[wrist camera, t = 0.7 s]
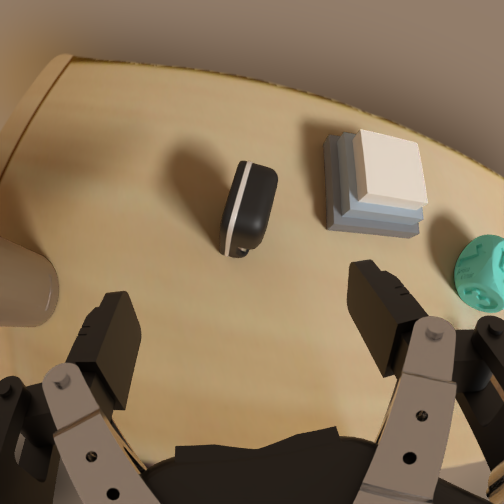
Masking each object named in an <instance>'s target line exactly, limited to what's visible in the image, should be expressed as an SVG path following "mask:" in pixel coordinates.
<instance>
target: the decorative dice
mask: <svg viewBox="0 0 504 504" xmlns="http://www.w3.org/2000/svg"><path fill="white" fill-rule="evenodd" d="M454 280H455V286H456V289H457V292H458V294H459V296H460V298H461V299H462V300H463V301H464V302H465V303H466V304H468V305H469V306H471V307H473V308H475V309H477V310H479V311H483V312H488V313H495V312H499V311H501V310H503V309H504V238H502V237H499V236H496V235H482V236H479V237H477V238H475V239H474V240H473V241H471V242H470V243H469V244H468V245H467V246H466V247H465V249H464V250H463V251H462V253H461V254H460V256H459V258H458V260H457V262H456V265H455V270H454Z"/></svg>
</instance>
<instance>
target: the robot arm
mask: <svg viewBox="0 0 504 504" xmlns="http://www.w3.org/2000/svg"><path fill="white" fill-rule="evenodd" d="M58 296H59V284H58V277H57V274H56V271H55V269H54V267H53V266H52V264H51V263H50V262H49V261H48V259H46V258H45V257H44V256H42V255H40V254H37V253H35V252H33V251H31V250H28V249H26V248H24V247H22V246H20V245H18V244H15V243H13V242H11V241H9V240H7V239H4V238H2V237H0V326H5V327H36V326H39V325H41V324H43V323H44V322H46V321H47V320H48V319H49V318H50V317H51V315H52V313H53V312H54V310H55V307H56V305H57V301H58ZM347 306H348V310H349V313H350V315H351V317H352V319H353V321H354V323H355V325H356V327H357V328H358V330H359V332H360V334H361V336H362V338H363V340H364V342H365V343H366V345H367V347H368V349H369V351H370V353H371V355H372V357H373V359H374V361H375V363H376V365H377V367H378V369H379V371H380V373H381V374H382V376H383V378H384V377H388V376H392V375H395V376H396V378H397V382H396V384H395V388H394V391H393V394H392V397H391V400H390V403H389V406H388V409H387V411H386V414H385V417H384V420H383V422H382V425H381V428H380V430H379V433H378V435H377V437H376V440H375V442H372V441H368V440H365V439H361V438H356V437H347V436H339V434H338V431H337V428H336V426H335V427H330V428H326V429H321V430H317V431H312V432H306V433H301V434H297V435H294V436H292V437H289V438H287V439H284V440H282V441H279V442H276V443H274V444H271V445H268V446H266V447H263V448H260V449H246V448H237V447H229V446H221V445H196V446H175V457H172V458H169V459H166V460H163V461H161V462H159V463H157V464H154V465H153V466H151V467H150V468H148V469H147V468H146V467H145V465H144V464H143V463H142V462H141V460H140V459H139V458H138V456H137V455H136V454H135V452H134V451H133V449H132V448H131V446H130V445H129V443H128V442H127V440H126V439H125V437H124V436H123V434H122V433H121V431H120V429H119V428H118V426H117V425H116V423H115V421H114V420H113V419H112V413H113V410H125V409H126V404H127V399H128V394H129V389H130V385H131V380H132V376H133V372H134V367H135V363H136V359H137V355H138V351H139V346H140V342H141V328H140V324H139V321H138V319H137V316H136V313H135V311H134V308H133V305H132V302H131V300H130V297H129V294H128V293H127V292H126V291H120V292H110V293H106V294H105V296H104V298H103V300H102V302H101V304H100V306H99V307H95V308H94V309H93V310H92V311H91V312H90V313H89V314H88V315H87V317H86V319H85V321H84V323H83V325H82V328H81V329H80V331H79V333H78V336H77V338H76V340H75V342H74V344H73V346H72V348H71V351H70V353H69V355H68V358H67V360H66V362H65V363H62V364H59V365H56V366H55V367H53V368H52V369H50V370H49V371H48V372H47V374H46V375H45V377H44V379H43V382H42V383H39V384H35V385H31V386H25V385H24V384H23V382H22V381H21V380H20V378H18V377H16V376H9V377H6V378H4V379H2V380H1V381H0V504H53V496H54V490H55V483H56V477H57V471H58V466H59V461H60V456H61V458H62V460H63V463H64V465H65V467H66V469H67V471H68V473H69V476H70V478H71V480H72V482H73V484H74V486H75V488H76V490H77V492H78V494H79V496H80V498H81V500H82V502H83V504H504V401H503V400H502V398H501V396H500V395H499V393H498V391H497V390H496V388H495V387H494V385H493V383H492V382H491V380H490V379H491V377H492V375H494V377H495V378H496V380H497V381H498V383H499V384H500V386H501V388H502V389H503V391H504V320H502V319H501V318H498V317H495V316H484V317H481V318H480V319H479V320H478V322H477V324H476V327H475V329H474V330H455V329H454V327H453V326H452V325H451V324H450V323H449V322H448V321H446V320H444V319H442V318H439V317H434V316H428V314H427V313H426V312H425V311H424V309H423V308H422V307H421V306H420V304H419V303H418V302H417V301H416V299H415V298H414V297H413V296H412V295H411V294H410V293H409V291H408V290H407V289H406V287H404V285H403V284H402V283H401V282H400V280H399V279H398V278H397V277H396V276H394V275H392V274H391V273H389V272H387V271H381V270H380V269H379V268H378V267H377V265H376V264H375V263H374V262H373V261H372V260H363V261H357V262H351V264H350V266H349V278H348V290H347ZM455 398H456V400H457V402H458V404H459V406H460V407H461V409H462V411H463V413H464V415H465V417H466V419H467V421H468V423H469V425H470V427H471V429H472V431H473V433H474V435H475V438H476V440H477V442H478V444H479V446H480V448H481V450H482V452H483V455H484V457H485V459H486V461H487V464H488V466H489V468H490V471H491V474H490V476H489V480H488V488H487V491H486V496H487V498H488V499H490V501H488V500H486V499H484V498H481V497H479V496H477V495H474V494H472V493H470V492H468V491H466V490H464V489H462V488H459V487H457V486H455V485H453V484H451V483H449V482H447V481H445V480H443V479H441V478H439V473H440V470H441V466H442V462H443V458H444V454H445V450H446V445H447V441H448V436H449V431H450V426H451V421H452V415H453V409H454V402H455ZM20 433H21V434H22V435H23V436H24V437H25V442H24V446H23V449H22V453H21V457H20V461H19V465H18V464H17V462H16V460H15V455H14V452H15V448H16V444H17V441H18V437H19V434H20Z"/></svg>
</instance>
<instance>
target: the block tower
mask: <svg viewBox="0 0 504 504" xmlns="http://www.w3.org/2000/svg"><path fill="white" fill-rule="evenodd" d="M323 147H324V164H325V185H326V216H327V230H332V231H342V232H353V233H363V234H372V235H382V236H392V237H401V238H411V237H413V236H415V235H418V234H419V223H418V222H420V221H422V220H423V210H422V207H423V206H425V205H426V204H428V201H427V193H426V187H425V181H424V175H423V169H422V164H421V158H420V153H419V148H418V144H417V143H415V142H412V141H408V140H404V139H400V138H396V137H392V136H388V135H384V134H380V133H375V132H371V131H366V130H362V129H360V130H359V132H358V133H357V134H352V133H347V132H343V134H342V135H341V136H335V135H329V136H328V137H327V139H326V141H325V142H324V144H323Z"/></svg>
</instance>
